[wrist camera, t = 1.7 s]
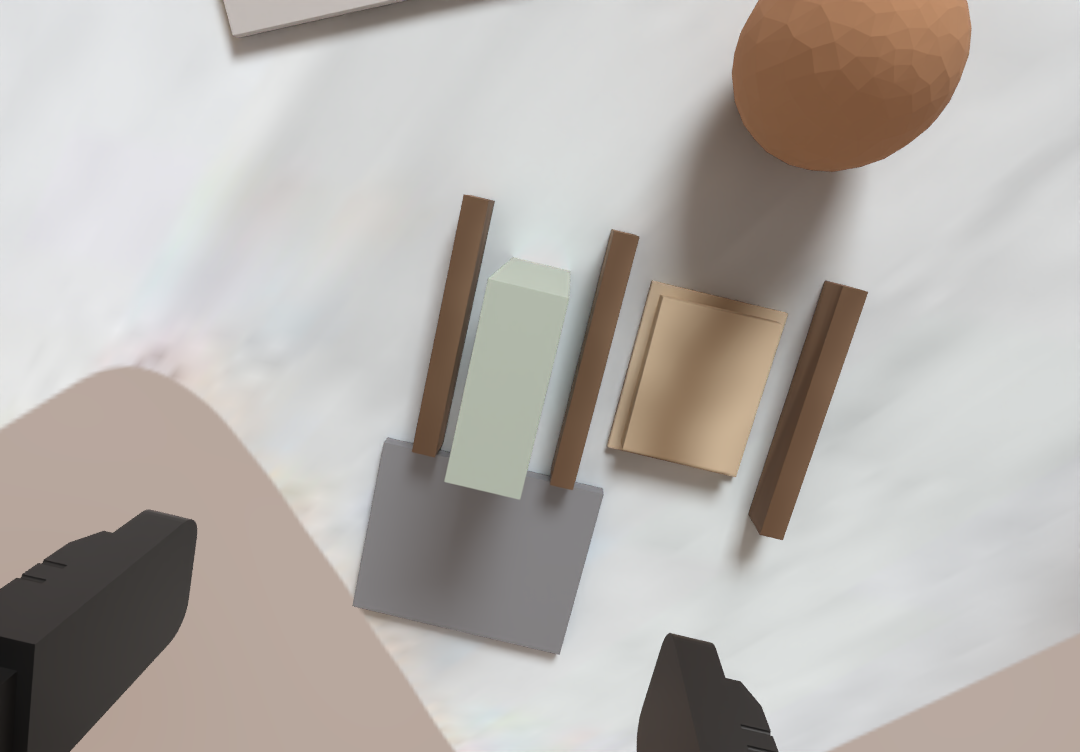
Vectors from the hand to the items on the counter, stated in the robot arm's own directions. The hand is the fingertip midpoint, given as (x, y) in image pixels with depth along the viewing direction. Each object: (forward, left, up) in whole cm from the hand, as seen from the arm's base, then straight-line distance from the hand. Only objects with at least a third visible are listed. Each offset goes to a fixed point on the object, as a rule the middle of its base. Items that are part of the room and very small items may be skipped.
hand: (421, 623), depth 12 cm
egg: (-10, -15, -26) cm, 32 cm away
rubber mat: (0, +12, -26) cm, 29 cm away
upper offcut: (-9, 0, -26) cm, 27 cm away
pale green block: (0, 0, -26) cm, 26 cm away
